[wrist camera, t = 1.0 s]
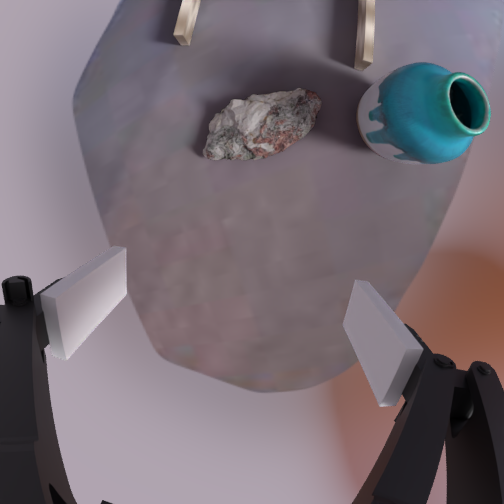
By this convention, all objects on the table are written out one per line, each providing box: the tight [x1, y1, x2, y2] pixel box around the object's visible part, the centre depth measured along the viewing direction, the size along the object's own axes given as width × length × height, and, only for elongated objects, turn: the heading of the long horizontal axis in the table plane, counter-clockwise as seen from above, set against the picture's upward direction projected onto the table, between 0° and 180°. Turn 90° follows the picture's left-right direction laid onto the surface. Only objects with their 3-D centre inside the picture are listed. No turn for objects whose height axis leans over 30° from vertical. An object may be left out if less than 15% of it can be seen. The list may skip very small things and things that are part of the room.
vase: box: [356, 62, 491, 164], centre depth 26 cm, size 11×11×19 cm
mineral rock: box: [203, 88, 322, 160], centre depth 34 cm, size 15×8×4 cm, turn 99°
